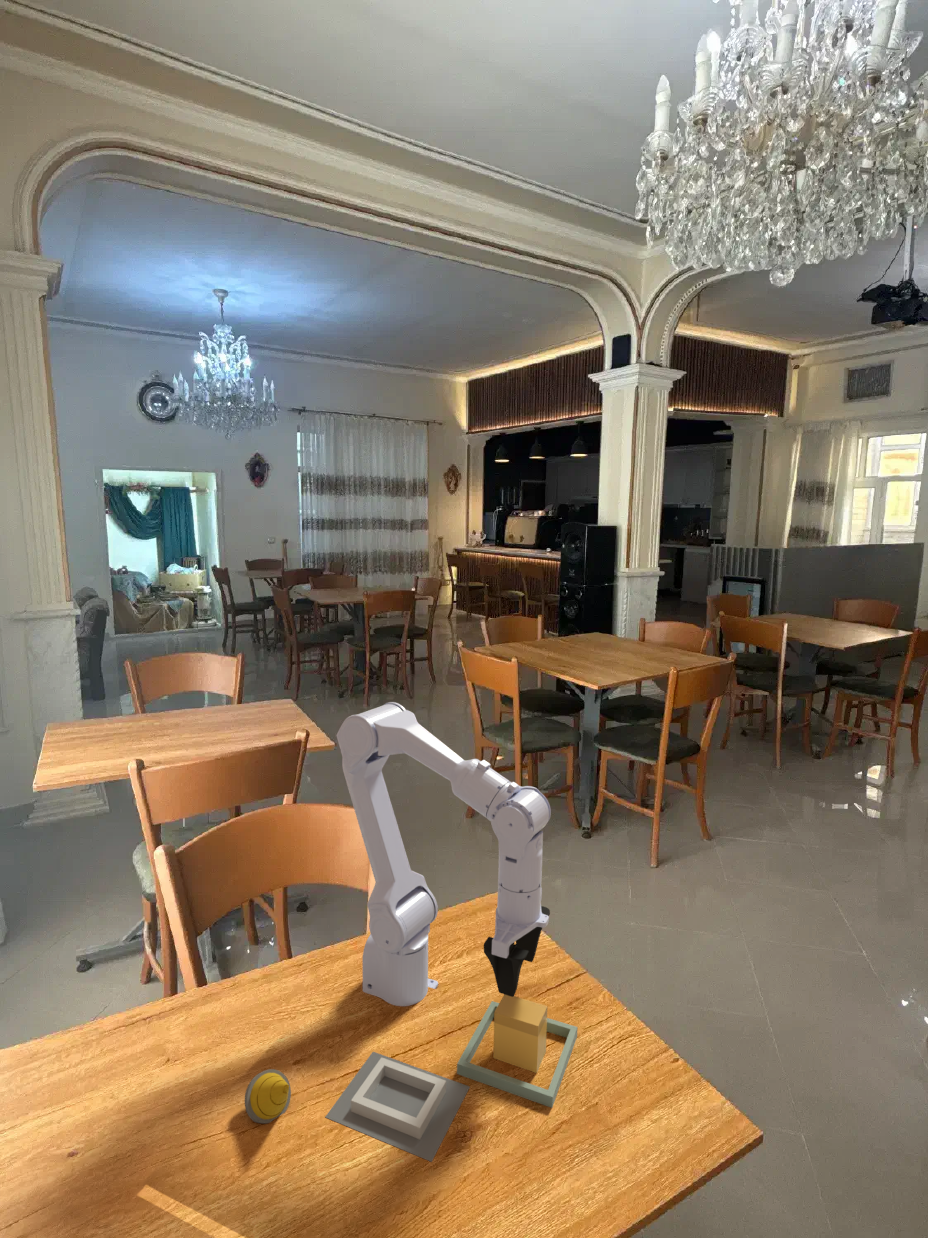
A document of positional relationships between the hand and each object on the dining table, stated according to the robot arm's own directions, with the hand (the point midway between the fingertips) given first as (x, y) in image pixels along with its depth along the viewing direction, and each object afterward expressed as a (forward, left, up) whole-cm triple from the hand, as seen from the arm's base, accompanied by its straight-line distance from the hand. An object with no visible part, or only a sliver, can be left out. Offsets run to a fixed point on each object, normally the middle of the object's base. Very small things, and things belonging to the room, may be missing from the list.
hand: (516, 975), depth 91 cm
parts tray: (+1, -2, -10) cm, 11 cm away
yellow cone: (-23, -22, -11) cm, 34 cm away
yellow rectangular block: (+1, -2, -10) cm, 10 cm away
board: (-10, -15, -10) cm, 21 cm away
